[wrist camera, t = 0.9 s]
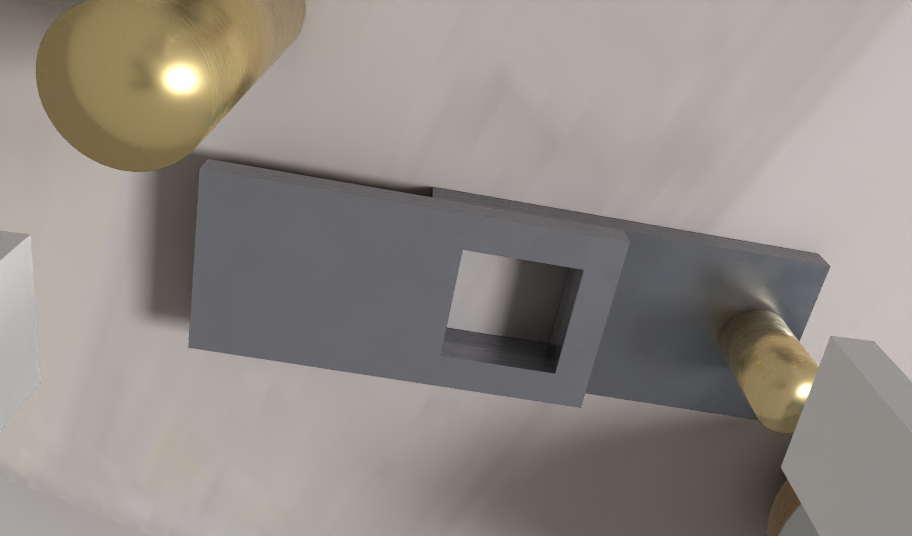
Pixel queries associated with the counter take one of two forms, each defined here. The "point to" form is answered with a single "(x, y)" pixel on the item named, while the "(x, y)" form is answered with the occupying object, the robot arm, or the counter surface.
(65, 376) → the counter surface
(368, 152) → the counter surface
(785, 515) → the vase
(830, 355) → the robot arm
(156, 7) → the pin
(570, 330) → the grey slide latch
